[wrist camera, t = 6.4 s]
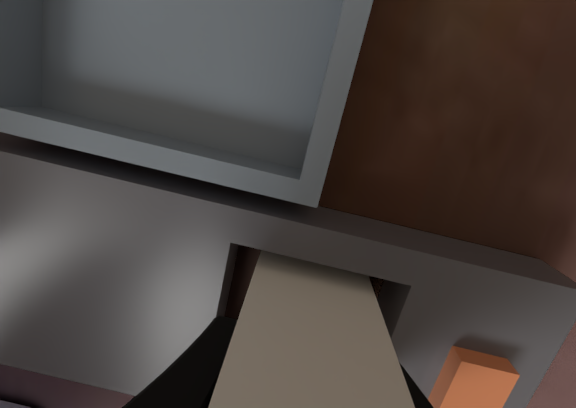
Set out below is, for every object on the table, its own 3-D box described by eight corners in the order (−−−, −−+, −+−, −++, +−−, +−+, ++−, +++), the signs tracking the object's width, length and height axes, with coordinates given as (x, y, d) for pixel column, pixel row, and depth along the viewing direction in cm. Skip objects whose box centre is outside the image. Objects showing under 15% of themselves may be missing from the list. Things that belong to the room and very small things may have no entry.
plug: (338, 359, 11) (381, 725, 5) (242, 336, 11) (145, 670, 5) (367, 272, 10) (475, 577, 4) (261, 248, 10) (174, 507, 4)
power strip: (458, 421, 13) (495, 499, 10) (-188, 268, 12) (-313, 309, 10) (540, 259, 11) (611, 306, 8) (-230, 74, 10) (-400, 63, 8)
